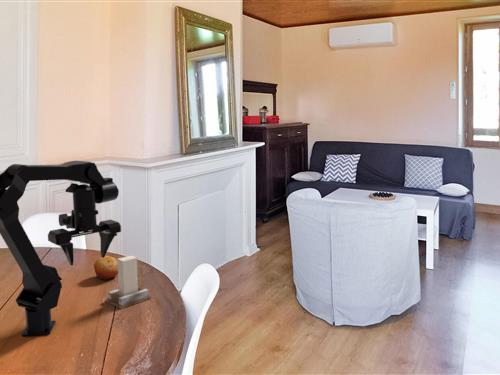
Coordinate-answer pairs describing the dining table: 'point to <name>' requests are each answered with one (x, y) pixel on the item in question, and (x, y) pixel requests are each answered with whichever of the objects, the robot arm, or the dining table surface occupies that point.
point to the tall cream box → (127, 275)
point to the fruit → (106, 267)
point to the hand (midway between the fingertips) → (87, 261)
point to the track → (128, 297)
